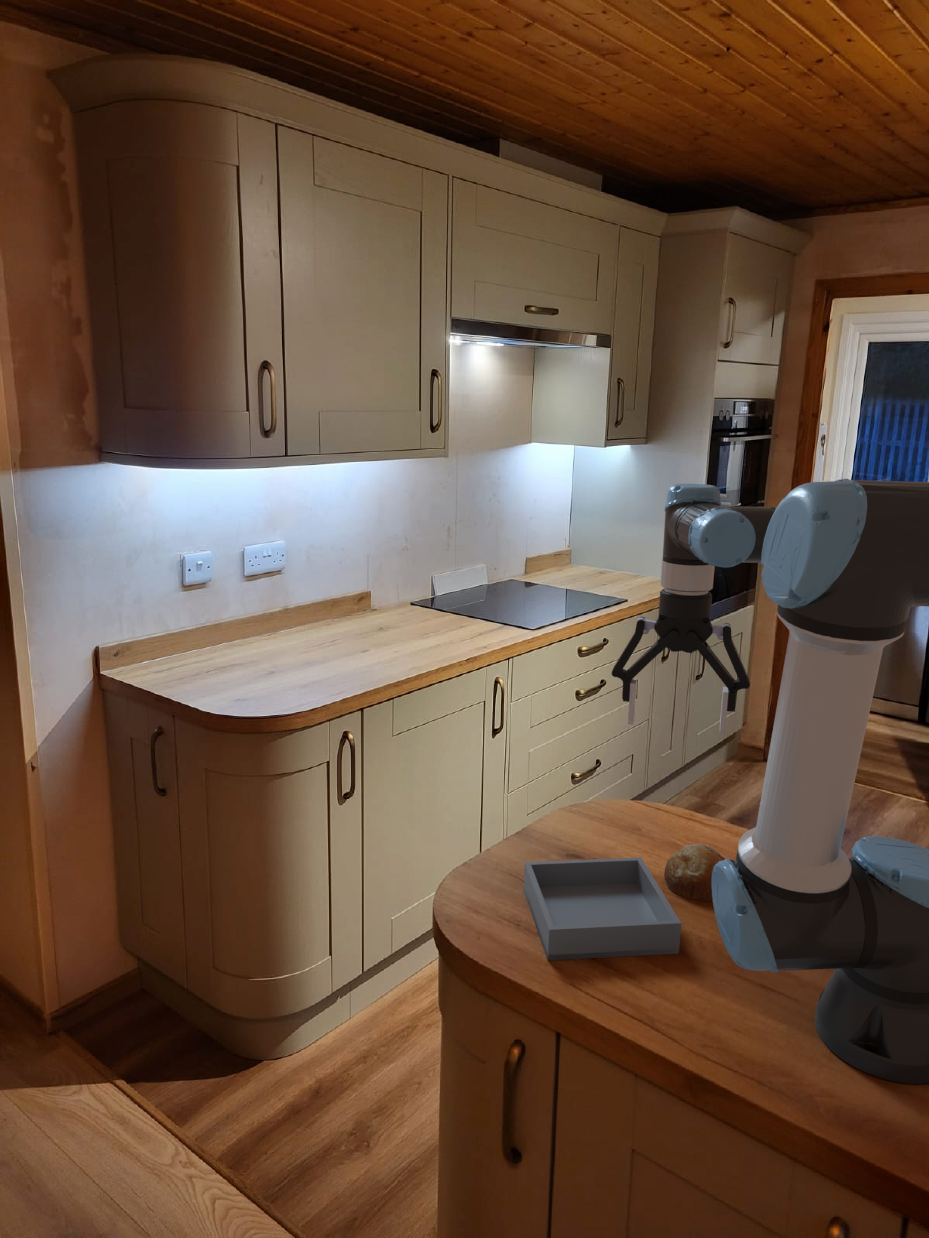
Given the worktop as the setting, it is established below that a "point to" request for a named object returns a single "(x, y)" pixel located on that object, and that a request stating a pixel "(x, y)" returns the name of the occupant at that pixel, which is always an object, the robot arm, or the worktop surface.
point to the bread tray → (600, 909)
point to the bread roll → (692, 871)
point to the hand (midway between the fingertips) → (676, 726)
